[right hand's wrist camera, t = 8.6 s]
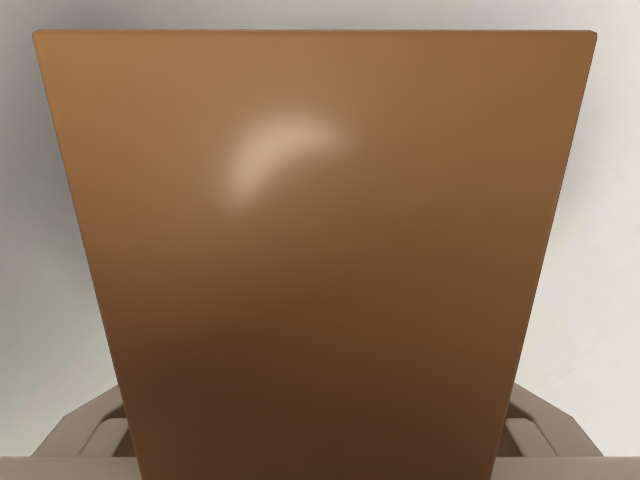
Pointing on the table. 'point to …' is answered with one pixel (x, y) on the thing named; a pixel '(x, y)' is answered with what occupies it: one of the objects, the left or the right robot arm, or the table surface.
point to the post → (315, 236)
